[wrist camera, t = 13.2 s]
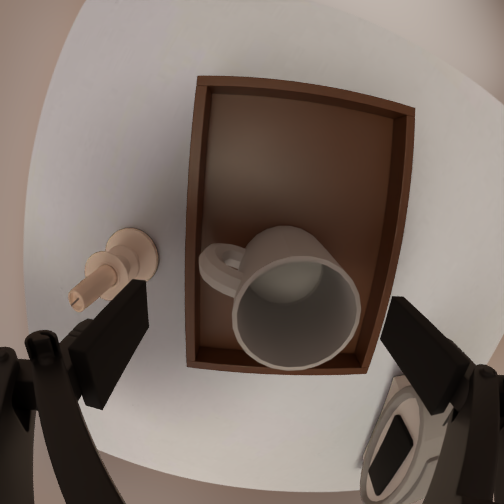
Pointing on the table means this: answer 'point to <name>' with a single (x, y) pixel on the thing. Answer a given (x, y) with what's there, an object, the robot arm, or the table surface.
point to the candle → (115, 267)
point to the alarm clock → (402, 448)
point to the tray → (294, 199)
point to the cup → (285, 297)
